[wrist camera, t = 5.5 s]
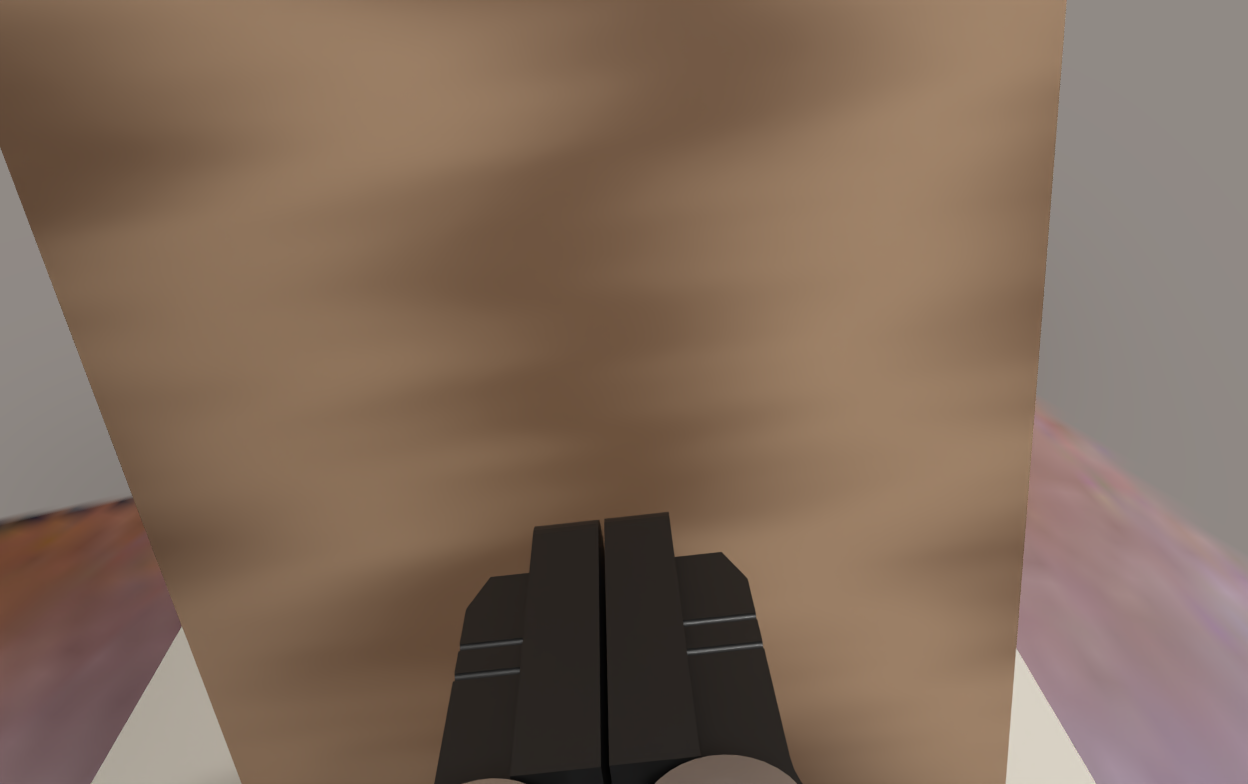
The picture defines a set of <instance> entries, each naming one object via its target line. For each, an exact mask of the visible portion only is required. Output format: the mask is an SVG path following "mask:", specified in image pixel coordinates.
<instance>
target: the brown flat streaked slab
mask: <svg viewBox="0 0 1248 784" xmlns="http://www.w3.org/2000/svg"><path fill="white" fill-rule="evenodd" d="M1066 1H1067V0H0V148H1V150H2V153H3V155H4V158H5V161H6V163H7V166H8V169H9V171H10V174H11V177H12V179H13V182H14V184H15V187H16V190H17V192H18V195H19V198H20V200H21V203H22V205H23V208H24V211H25V214H26V216H27V219H28V221H29V224H30V227H31V229H32V232H33V234H34V237H35V240H36V243H37V245H38V248H39V250H40V253H41V256H42V258H43V261H44V264H45V266H46V269H47V272H48V274H49V277H50V280H51V282H52V285H53V287H54V290H55V293H56V295H57V298H58V301H59V303H60V306H61V309H62V311H63V314H64V317H65V319H66V322H67V324H68V327H69V330H70V332H71V335H72V338H73V340H74V343H75V346H76V348H77V351H78V353H79V356H80V359H81V361H82V364H83V367H84V369H85V372H86V375H87V377H88V380H89V382H90V385H91V388H92V390H93V393H94V396H95V398H96V401H97V403H98V406H99V409H100V411H101V414H102V417H103V419H104V422H105V425H106V427H107V430H108V432H109V435H110V438H111V440H112V443H113V446H114V448H115V451H116V454H117V456H118V459H119V462H120V464H121V467H122V470H123V472H124V475H125V477H126V480H127V483H128V485H129V488H130V491H131V493H132V496H133V499H134V501H135V504H136V506H137V509H138V512H139V514H140V517H141V520H142V522H143V525H144V528H145V530H146V533H147V535H148V538H149V541H150V543H151V546H152V549H153V551H154V554H155V557H156V559H157V562H158V564H159V567H160V570H161V572H162V575H163V578H164V580H165V583H166V586H167V588H168V591H169V594H170V596H171V599H172V601H173V604H174V607H175V609H176V612H177V615H178V617H179V620H180V623H181V625H182V628H183V630H184V633H185V636H186V638H187V641H188V644H189V646H190V649H191V652H192V654H193V657H194V659H195V662H196V665H197V667H198V670H199V673H200V675H201V678H202V681H203V683H204V686H205V688H206V691H207V694H208V696H209V699H210V702H211V704H212V707H213V710H214V712H215V715H216V718H217V720H218V723H219V725H220V728H221V731H222V733H223V736H224V739H225V741H226V744H227V747H228V749H229V752H230V754H231V757H232V760H233V762H234V765H235V768H236V770H237V773H238V776H239V778H240V781H241V783H242V784H434V782H435V776H436V771H437V765H438V760H439V754H440V749H441V743H442V738H443V732H444V727H445V721H446V716H447V710H448V705H449V699H450V694H451V688H452V683H453V681H455V676H454V672H455V667H456V661H457V656H458V651H460V639H461V634H462V628H463V623H464V617H465V612H466V608H467V607H468V606H469V604H470V603H471V602H472V601H473V599H474V598H475V597H476V595H477V594H478V593H479V591H480V590H481V589H482V587H483V586H484V585H485V583H486V582H487V581H488V580H489V578H490V577H494V576H504V575H513V574H522V573H529V570H530V559H531V549H532V538H533V530H534V527H535V526H544V525H553V524H563V523H572V522H581V521H590V520H600V524H601V529H602V535H603V541H604V549H605V538H604V519H607V518H616V517H625V516H634V515H643V514H653V513H662V512H669V518H670V525H671V533H672V541H673V548H674V556H675V557H678V556H687V555H697V554H706V553H715V552H722V553H723V554H724V555H725V556H726V557H727V558H728V559H729V560H730V561H731V562H732V563H733V564H734V565H735V566H736V567H737V568H738V569H739V570H740V571H741V572H742V573H743V574H744V575H745V576H746V577H747V578H748V582H749V586H750V590H751V595H752V599H753V603H754V607H755V611H756V618H757V620H758V624H759V628H760V632H761V637H762V641H763V648H764V649H765V654H766V658H767V662H768V666H769V670H770V675H771V679H772V683H773V687H774V691H775V696H776V700H777V704H778V708H779V712H780V717H781V721H782V725H783V729H784V734H785V738H786V742H787V746H788V750H789V755H790V758H791V761H792V764H793V767H794V770H795V772H796V773H797V775H798V777H799V779H800V781H801V782H802V783H803V784H1006V773H1007V760H1008V747H1009V734H1010V721H1011V708H1012V695H1013V682H1014V670H1015V657H1016V644H1017V631H1018V618H1019V605H1020V592H1021V580H1022V567H1023V554H1024V541H1025V528H1026V515H1027V502H1028V490H1029V477H1030V464H1031V451H1032V438H1033V425H1034V412H1035V400H1036V387H1037V374H1038V361H1039V348H1040V334H1041V322H1042V309H1043V297H1044V284H1045V271H1046V258H1047V245H1048V232H1049V220H1050V206H1051V194H1052V181H1053V167H1054V155H1055V142H1056V129H1057V117H1058V103H1059V90H1060V77H1061V64H1062V51H1063V40H1064V26H1065V14H1066Z"/></svg>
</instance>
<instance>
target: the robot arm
mask: <svg viewBox="0 0 1248 784" xmlns="http://www.w3.org/2000/svg"><path fill="white" fill-rule="evenodd" d="M604 538H605V549H604V541H603V535H602V529H601V524H600V520H590V521H581V522H572V523H563V524H553V525H544V526H535V527H534V530H533V538H532V549H531V559H530V570H529V573H522V574H513V575H504V576H494V577H490V578H489V580H488V581H487V582H486V583H485V585H484V586H483V587H482V589H481V590H480V591H479V593H478V594H477V595H476V597H475V598H474V599H473V601H472V602H471V603H470V604H469V606H468V607H467V608H466V612H465V617H464V623H463V628H462V634H461V639H460V651H458V656H457V661H456V667H455V672H454V676H455V681H453V683H452V688H451V694H450V699H449V705H448V710H447V716H446V721H445V727H444V732H443V738H442V743H441V749H440V754H439V760H438V765H437V771H436V776H435V782H434V784H803V783H802V782H801V781H800V779H799V777H798V775H797V773H796V772H795V770H794V767H793V764H792V761H791V758H790V755H789V750H788V746H787V742H786V738H785V734H784V729H783V725H782V721H781V717H780V712H779V708H778V704H777V700H776V696H775V691H774V687H773V683H772V679H771V675H770V670H769V666H768V662H767V658H766V654H765V649H764V648H763V641H762V637H761V632H760V628H759V624H758V620H757V618H756V611H755V607H754V603H753V599H752V595H751V590H750V586H749V582H748V578H747V577H746V576H745V575H744V574H743V573H742V572H741V571H740V570H739V569H738V568H737V567H736V566H735V565H734V564H733V563H732V562H731V561H730V560H729V559H728V558H727V557H726V556H725V555H724V554H723V553H722V552H715V553H706V554H697V555H687V556H678V557H675V556H674V548H673V541H672V533H671V525H670V518H669V512H662V513H653V514H643V515H634V516H625V517H616V518H607V519H604Z"/></svg>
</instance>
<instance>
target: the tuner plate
mask: <svg viewBox="0 0 1248 784" xmlns="http://www.w3.org/2000/svg"><path fill="white" fill-rule="evenodd" d="M91 784H242V783H241V781H240V778H239V776H238V773H237V770H236V768H235V765H234V762H233V760H232V757H231V754H230V752H229V749H228V747H227V744H226V741H225V739H224V736H223V733H222V731H221V728H220V725H219V723H218V720H217V718H216V715H215V712H214V710H213V707H212V704H211V702H210V699H209V696H208V694H207V691H206V688H205V686H204V683H203V681H202V678H201V675H200V673H199V670H198V667H197V665H196V662H195V659H194V657H193V654H192V652H191V649H190V646H189V644H188V641H187V638H186V636H185V633H184V630H183V628H182V627H181V629H180V631H179V632H178V634H177V636H176V638H175V639H174V641H173V643H172V644H171V646H170V648H169V650H168V651H167V653H166V655H165V657H164V658H163V660H162V662H161V663H160V665H159V667H158V669H157V670H156V672H155V674H154V676H153V677H152V679H151V681H150V682H149V684H148V686H147V688H146V689H145V691H144V693H143V695H142V696H141V698H140V700H139V701H138V703H137V705H136V707H135V708H134V710H133V712H132V714H131V715H130V717H129V719H128V720H127V722H126V724H125V726H124V727H123V729H122V731H121V733H120V734H119V736H118V738H117V740H116V741H115V743H114V745H113V746H112V748H111V750H110V752H109V753H108V755H107V757H106V759H105V760H104V762H103V764H102V765H101V767H100V769H99V771H98V772H97V774H96V776H95V778H94V779H93V781H92V783H91ZM1006 784H1096V783H1095V781H1094V779H1093V778H1092V776H1091V774H1090V773H1089V771H1088V769H1087V767H1086V766H1085V764H1084V762H1083V761H1082V759H1081V757H1080V756H1079V754H1078V752H1077V751H1076V749H1075V747H1074V745H1073V744H1072V742H1071V740H1070V739H1069V737H1068V735H1067V734H1066V732H1065V730H1064V729H1063V727H1062V725H1061V723H1060V722H1059V720H1058V718H1057V717H1056V715H1055V713H1054V712H1053V710H1052V708H1051V706H1050V705H1049V703H1048V701H1047V700H1046V698H1045V696H1044V695H1043V693H1042V691H1041V690H1040V688H1039V686H1038V684H1037V683H1036V681H1035V679H1034V678H1033V676H1032V674H1031V673H1030V671H1029V669H1028V667H1027V666H1026V664H1025V662H1024V661H1023V659H1022V657H1021V656H1020V654H1019V652H1018V651H1017V649H1016V657H1015V670H1014V682H1013V695H1012V708H1011V721H1010V734H1009V747H1008V760H1007V773H1006Z"/></svg>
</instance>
